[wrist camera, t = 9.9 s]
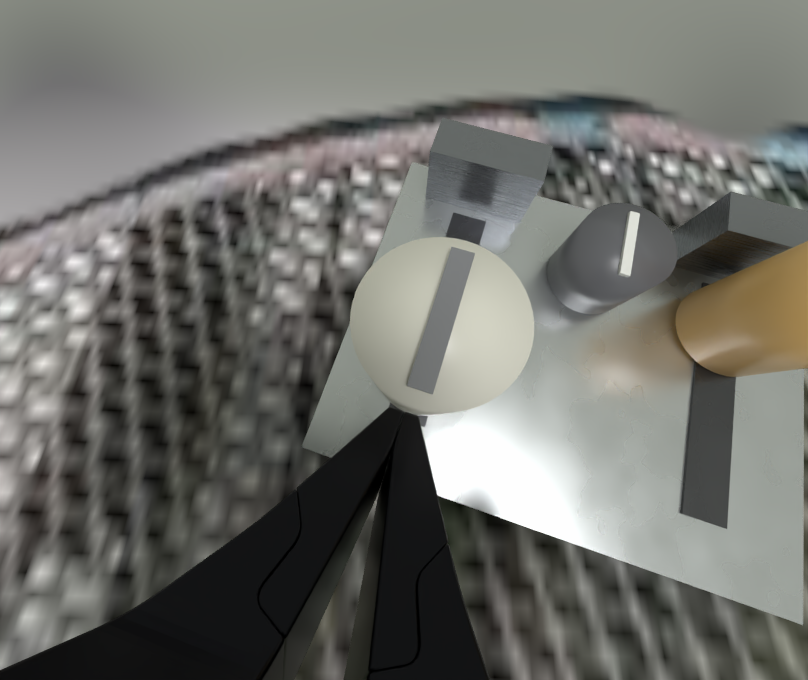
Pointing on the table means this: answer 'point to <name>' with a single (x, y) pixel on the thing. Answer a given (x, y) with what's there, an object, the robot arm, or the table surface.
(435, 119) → the table surface
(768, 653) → the table surface
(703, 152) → the table surface
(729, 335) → the orange knob
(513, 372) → the cream knob
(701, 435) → the console plate
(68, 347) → the table surface
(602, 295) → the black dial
